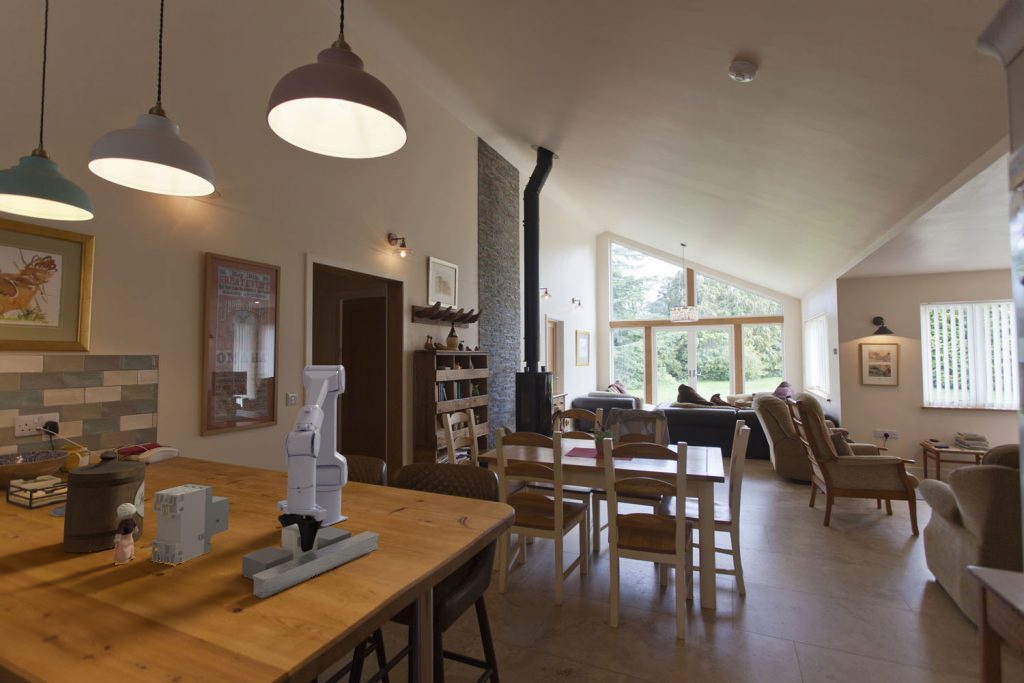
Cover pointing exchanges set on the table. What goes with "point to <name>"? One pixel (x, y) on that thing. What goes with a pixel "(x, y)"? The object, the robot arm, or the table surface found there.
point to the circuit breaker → (187, 522)
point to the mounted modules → (275, 556)
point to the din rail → (313, 564)
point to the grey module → (295, 541)
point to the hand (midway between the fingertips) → (300, 548)
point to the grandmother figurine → (125, 534)
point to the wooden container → (101, 502)
